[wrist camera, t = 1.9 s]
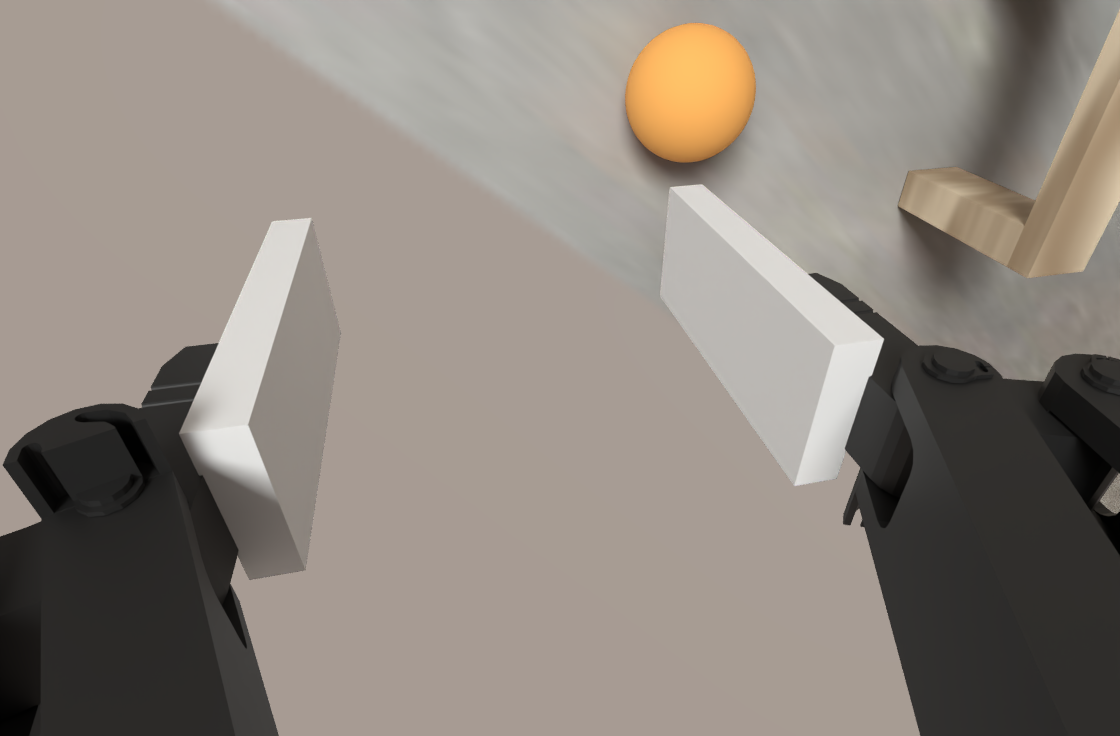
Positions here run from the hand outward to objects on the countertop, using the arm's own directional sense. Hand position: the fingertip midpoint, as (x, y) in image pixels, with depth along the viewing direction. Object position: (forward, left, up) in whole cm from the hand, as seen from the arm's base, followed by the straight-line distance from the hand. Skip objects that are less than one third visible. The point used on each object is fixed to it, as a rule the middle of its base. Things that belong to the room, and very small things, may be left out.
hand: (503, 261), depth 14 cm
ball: (-10, 0, -14) cm, 18 cm away
